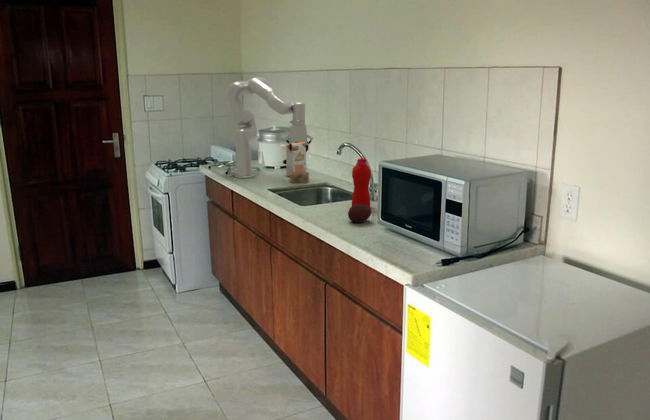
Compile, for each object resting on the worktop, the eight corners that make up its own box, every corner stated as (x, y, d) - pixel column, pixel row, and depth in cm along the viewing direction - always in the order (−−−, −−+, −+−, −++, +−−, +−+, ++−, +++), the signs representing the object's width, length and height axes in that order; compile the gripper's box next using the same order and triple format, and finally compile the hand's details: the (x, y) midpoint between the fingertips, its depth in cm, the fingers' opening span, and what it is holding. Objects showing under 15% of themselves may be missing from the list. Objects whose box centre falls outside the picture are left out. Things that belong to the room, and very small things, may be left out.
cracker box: (293, 177, 342) (292, 144, 336) (286, 176, 345) (285, 144, 340) (306, 174, 352) (306, 142, 347) (299, 172, 356) (299, 141, 351)
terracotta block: (294, 174, 325) (294, 164, 324) (296, 172, 330) (295, 163, 328) (303, 174, 325) (302, 164, 323) (304, 172, 330) (303, 163, 328)
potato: (359, 217, 249) (359, 200, 247) (377, 222, 241) (377, 204, 239) (341, 221, 242) (342, 204, 240) (359, 227, 234) (360, 208, 232)
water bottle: (348, 205, 270) (348, 157, 264) (369, 205, 270) (370, 157, 264) (348, 210, 261) (348, 160, 255) (370, 210, 261) (371, 160, 255)
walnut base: (290, 183, 324) (290, 175, 323) (292, 179, 334) (292, 171, 333) (306, 183, 323) (306, 175, 322) (308, 180, 333) (308, 172, 332)
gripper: (283, 123, 317) (283, 151, 321) (312, 124, 315) (312, 152, 319) (285, 122, 324) (285, 149, 328) (313, 122, 322) (313, 150, 327)
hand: (298, 151), depth 324 cm, fingers open, 9 cm apart
